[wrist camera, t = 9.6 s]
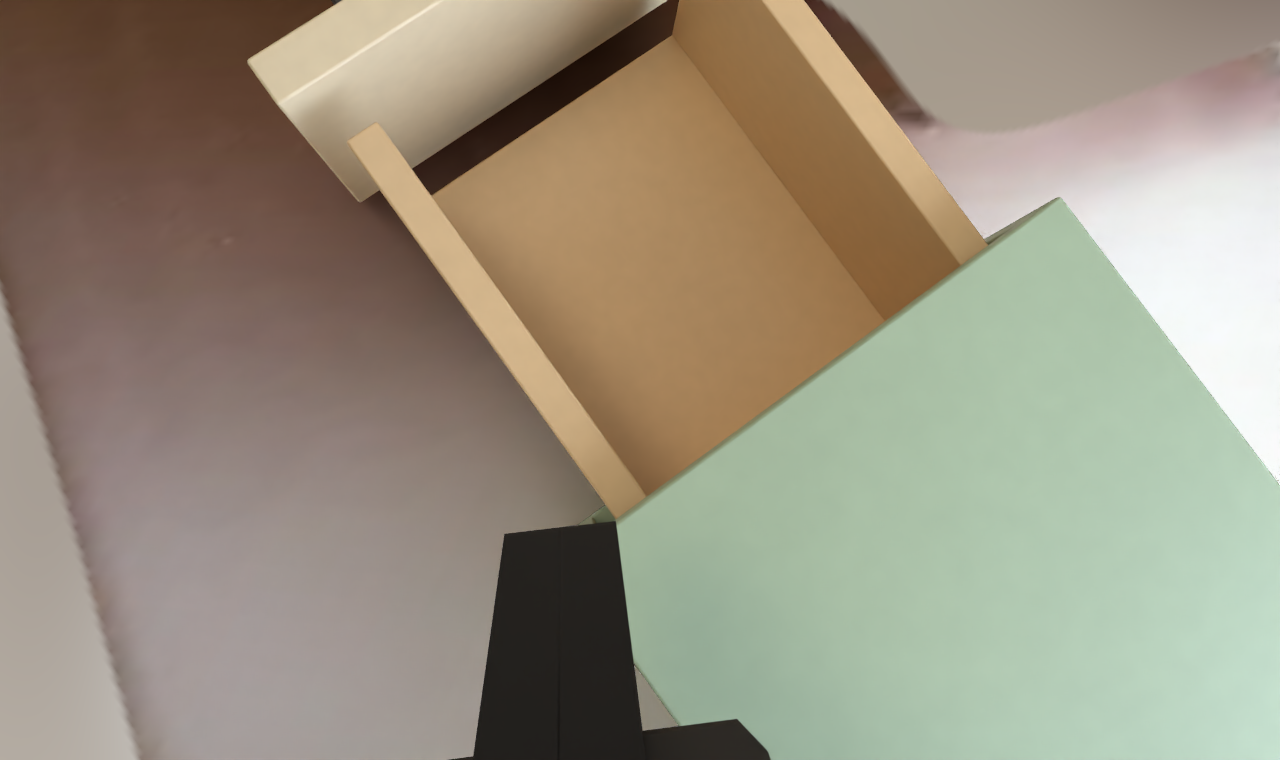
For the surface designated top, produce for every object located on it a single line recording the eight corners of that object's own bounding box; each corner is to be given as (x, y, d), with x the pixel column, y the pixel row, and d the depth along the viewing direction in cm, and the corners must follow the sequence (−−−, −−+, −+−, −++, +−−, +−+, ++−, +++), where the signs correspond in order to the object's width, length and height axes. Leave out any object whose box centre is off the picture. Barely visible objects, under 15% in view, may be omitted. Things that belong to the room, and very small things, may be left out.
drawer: (220, 9, 25) (88, -159, 19) (545, -192, 27) (533, -418, 20) (613, 559, 24) (625, 592, 18) (930, 323, 26) (1054, 272, 19)
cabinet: (568, 531, 25) (561, 562, 17) (908, 283, 27) (1061, 194, 18) (873, 958, 25) (1026, 1215, 16) (1204, 679, 26) (1507, 781, 18)
